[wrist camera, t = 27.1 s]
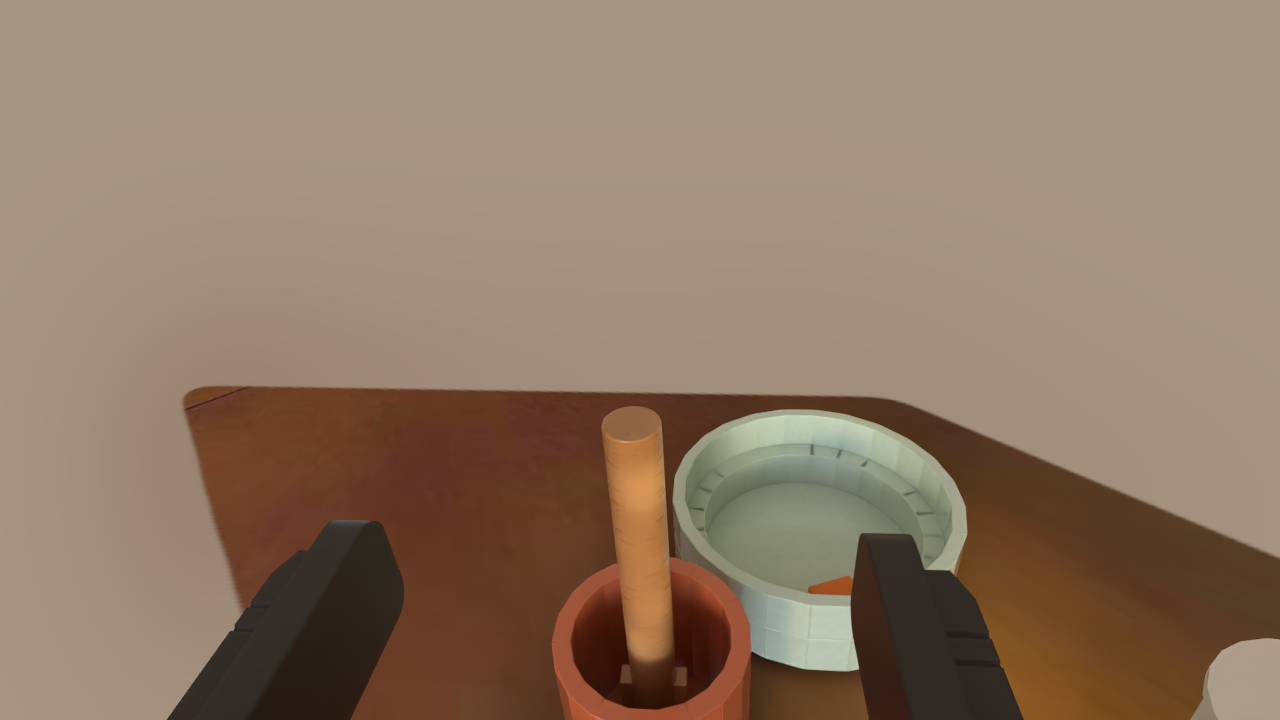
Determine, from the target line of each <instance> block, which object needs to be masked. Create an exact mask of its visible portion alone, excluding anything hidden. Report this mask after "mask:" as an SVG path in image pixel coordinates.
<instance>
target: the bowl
mask: <svg viewBox="0 0 1280 720" xmlns="http://www.w3.org/2000/svg"><path fill="white" fill-rule="evenodd" d="M673 518H674V536H675V555H676V558H677V559H680V560H684V561H687V562H691V563H695V564H698V566H701V567H702V568H704V569H706V570H707V571H709V572H711V573H712V574H714V575H716V576H717V577H719V578H720V579H721V580H723V581H724V583H725V584H726V585H727V586H728V587H729V588H730V589H731V590H732V591H733V593H734V594H735V595H736V596H737V597H738V599H739V600H740V602H741V604H742V606H743V609H744V611H745V613H746V616H747V618H748V620H749V624H750V632H751V651H752V652H754V653H756V654H757V655H759V656H761V657H764V658H766V659H769V660H773V661H776V662H780V663H783V664H787V665H791V666H794V667H798V668H801V669H806V670H827V671H853V670H858V669H859V665H858V660H857V655H856V650H855V645H854V639H853V634H852V626H851V611H850V602H851V595H823V594H810V593H808V587H810V586H813V585H817V584H820V583H823V582H827V581H830V580H834V579H837V578H841V577H844V576H848V575H849V576H850V577H851V579H852V580H853V577H854V569H855V562H856V555H857V548H858V541H859V536H860V534H861V533H886V534H910V535H912V537H913V538H914V540H915V543H916V545H917V548H918V551H919V554H920V557H921V560H922V563H923V566H924V569H925V570H950V571H951V572H952V573H953V574H954V575H955V577H956V575H957V571H958V567H959V564H960V560H961V556H962V552H963V549H964V545H965V541H966V537H967V519H966V507H965V504H964V502H963V499H962V497H961V495H960V493H959V490H958V488H957V486H956V484H955V482H954V480H953V479H952V478H951V477H950V475H949V474H948V473H947V472H946V471H945V470H944V468H943V467H942V466H941V465H940V464H939V463H938V461H937V460H936V459H935V458H934V457H933V456H931V455H930V454H929V453H927V452H926V451H925V450H923V449H922V448H921V447H919V446H918V445H916V444H915V443H914V442H912V441H911V440H910V439H908V438H906V437H904V436H902V435H900V434H898V433H896V432H894V431H892V430H890V429H888V428H886V427H883V426H881V425H878V424H877V423H873V422H870V421H867V420H863V419H860V418H857V417H854V416H850V415H846V414H841V413H834V412H828V411H821V410H776V411H769V412H763V413H756V414H751V415H748V416H745V417H742V418H740V419H737V420H734V421H731V422H728V423H725V424H723V425H721V426H720V427H718V428H716V429H715V430H713V431H711V432H710V433H708V434H706V435H705V436H703V437H702V438H701V439H700V440H699V441H698V442H697V443H696V444H695V445H694V446H693V447H692V448H691V449H690V450H689V451H688V452H687V453H686V455H685V456H684V458H683V460H682V462H681V464H680V466H679V468H678V471H677V473H676V475H675V477H674V489H673Z"/></svg>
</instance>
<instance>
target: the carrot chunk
mask: <svg viewBox="0 0 1280 720" xmlns="http://www.w3.org/2000/svg"><path fill="white" fill-rule="evenodd" d="M852 584H853V580H852V579H851V577H850V576H849V575H848V576H844V577H841V578H837V579H834V580H830V581H827V582H823V583H820V584H817V585H813V586H810V587H808V593H810V594H823V595H851V591H852Z"/></svg>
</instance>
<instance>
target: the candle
mask: <svg viewBox="0 0 1280 720" xmlns="http://www.w3.org/2000/svg"><path fill="white" fill-rule="evenodd" d="M1190 720H1280V639H1270V638H1264V639H1256V640H1248V641H1241V642H1239V643H1236V644H1234V645H1232V646H1230V647H1228V648H1226V649H1224V650H1222V651H1221V652H1220V653H1219V655H1218V656H1217V657H1216V659H1215V660H1214V661H1213V663H1212V664H1211V665H1210V667H1209V669H1208V670H1207V672H1206V673H1205V681H1204V688H1203V700H1202V702H1201V703H1200V705H1199V706H1198V708H1197V710H1196V711H1195V713H1194V714H1193V716H1192V718H1191V719H1190Z"/></svg>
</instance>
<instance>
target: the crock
mask: <svg viewBox="0 0 1280 720" xmlns="http://www.w3.org/2000/svg"><path fill="white" fill-rule="evenodd" d="M670 574H671V591H672V607H673V624H674V641H675V658H676V667H686V668H687V673H688V695H689V700H688V701H687V702H685V703H682V704H678V705H674V706H670V707H666V708H662V709H658V710H654V709H636V708H627V707H625V706H623V704H622V696H621V689H620V676H621V668H622V665H623V664H625V665H629V657H628V649H627V640H626V632H625V624H624V615H623V607H622V598H621V590H620V581H619V573H618V564H617V563H615V564H613V565H611V566H609V567H607V568H605V569H603V570H601V571H599V572H597V573H595V574H594V575H591V576H590V577H589V578H588V579H587V580H586V581H584V582H583V583H582V584H581V585H580V586H579V587H578V588H576V589H575V590H574V591H573V593H572V594H571V595H570V597H569V598H568V600H567V602H566V603H565V605H564V606H563V608H562V610H561V611H560V613H559V615H558V617H557V621H556V625H555V629H554V633H553V637H552V644H551V645H552V653H553V662H554V669H555V674H556V679H557V684H558V688H559V693H560V698H561V702H562V707H563V712H564V717H565V720H749V707H750V677H751V632H750V624H749V620H748V618H747V616H746V613H745V611H744V609H743V606H742V604H741V602H740V600H739V599H738V597H737V596H736V595H735V594H734V593H733V591H732V590H731V589H730V588H729V587H728V586H727V585H726V584H725V583H724V581H723V580H721V579H720V578H719V577H717V576H716V575H714V574H712V573H711V572H709V571H707V570H706V569H704V568H702V567H701V566H698V564H695V563H691V562H687V561H684V560H680V559H677V558H673V557H670Z"/></svg>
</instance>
